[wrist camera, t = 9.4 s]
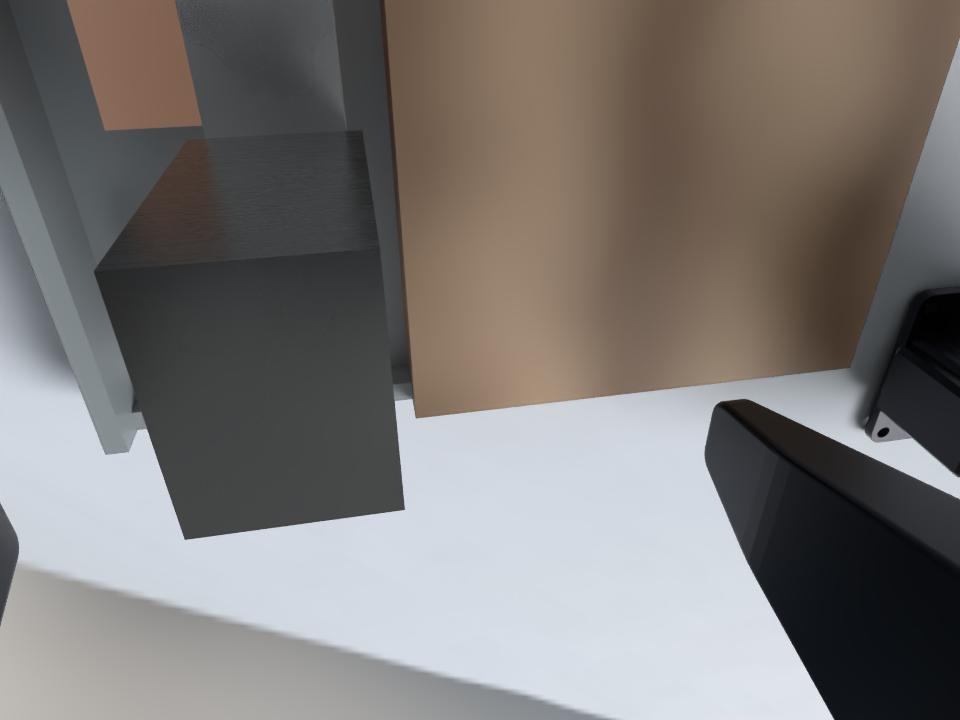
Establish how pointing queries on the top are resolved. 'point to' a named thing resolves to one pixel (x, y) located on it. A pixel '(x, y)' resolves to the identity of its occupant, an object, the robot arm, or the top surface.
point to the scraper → (261, 286)
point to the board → (648, 186)
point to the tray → (140, 186)
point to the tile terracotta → (136, 63)
